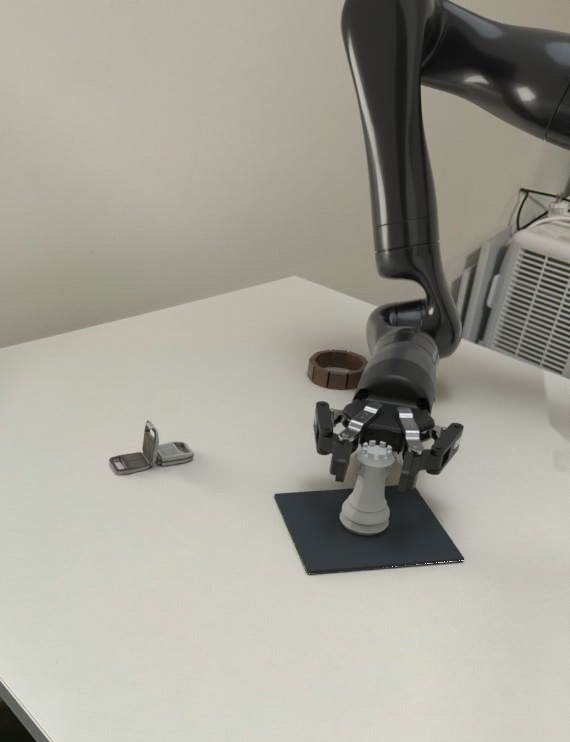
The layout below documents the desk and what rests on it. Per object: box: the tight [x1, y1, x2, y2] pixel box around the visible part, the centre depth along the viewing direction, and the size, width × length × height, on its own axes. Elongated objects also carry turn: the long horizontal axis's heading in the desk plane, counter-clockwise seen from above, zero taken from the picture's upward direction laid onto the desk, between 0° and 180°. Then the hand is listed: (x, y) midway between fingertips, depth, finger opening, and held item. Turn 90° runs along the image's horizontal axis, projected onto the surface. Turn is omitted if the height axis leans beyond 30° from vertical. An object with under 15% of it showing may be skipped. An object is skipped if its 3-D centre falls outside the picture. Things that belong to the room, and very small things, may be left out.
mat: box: [273, 484, 465, 575], centre depth 76 cm, size 14×12×1 cm
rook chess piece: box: [340, 440, 396, 536], centre depth 73 cm, size 4×4×8 cm
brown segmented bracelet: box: [307, 348, 369, 391], centre depth 101 cm, size 7×7×2 cm
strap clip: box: [108, 420, 195, 474], centre depth 84 cm, size 8×3×4 cm, turn 111°
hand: (371, 478), depth 70 cm, fingers open, 4 cm apart
